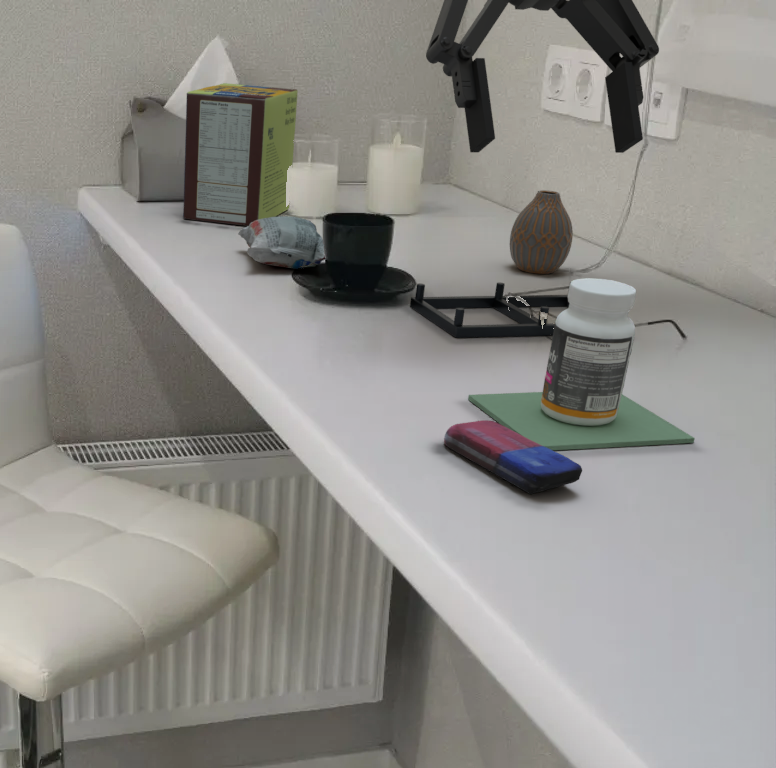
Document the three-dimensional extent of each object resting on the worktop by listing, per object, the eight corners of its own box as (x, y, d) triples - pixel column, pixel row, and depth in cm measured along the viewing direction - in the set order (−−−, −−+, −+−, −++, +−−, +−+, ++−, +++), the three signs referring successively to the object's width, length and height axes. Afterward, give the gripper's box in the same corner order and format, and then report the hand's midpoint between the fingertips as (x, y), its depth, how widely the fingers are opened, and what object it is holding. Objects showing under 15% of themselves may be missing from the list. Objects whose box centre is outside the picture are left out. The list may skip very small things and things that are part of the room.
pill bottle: (543, 398, 92) (566, 272, 88) (619, 410, 90) (646, 282, 86) (534, 420, 87) (558, 288, 83) (613, 433, 85) (642, 299, 81)
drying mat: (612, 393, 95) (613, 388, 95) (694, 443, 86) (695, 438, 86) (467, 399, 92) (468, 394, 92) (535, 451, 82) (536, 446, 82)
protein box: (290, 209, 161) (299, 88, 154) (258, 228, 147) (266, 97, 141) (218, 200, 163) (223, 82, 156) (180, 219, 150) (184, 90, 143)
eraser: (434, 442, 83) (436, 418, 82) (480, 435, 85) (483, 412, 84) (535, 500, 74) (539, 474, 73) (585, 491, 75) (590, 466, 75)
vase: (500, 261, 138) (512, 185, 134) (559, 265, 138) (572, 188, 134) (510, 275, 132) (523, 195, 128) (572, 279, 132) (586, 199, 128)
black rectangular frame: (569, 304, 121) (573, 280, 120) (626, 333, 112) (632, 308, 111) (409, 306, 117) (412, 282, 116) (455, 338, 107) (459, 311, 106)
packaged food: (245, 274, 125) (249, 227, 123) (237, 249, 135) (240, 206, 133) (326, 278, 126) (331, 232, 124) (311, 253, 136) (316, 210, 134)
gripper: (625, -70, 103) (658, 164, 102) (365, -88, 96) (397, 164, 95) (680, -124, 96) (716, 127, 95) (404, -147, 89) (439, 124, 87)
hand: (557, 146), depth 95 cm, fingers open, 13 cm apart
